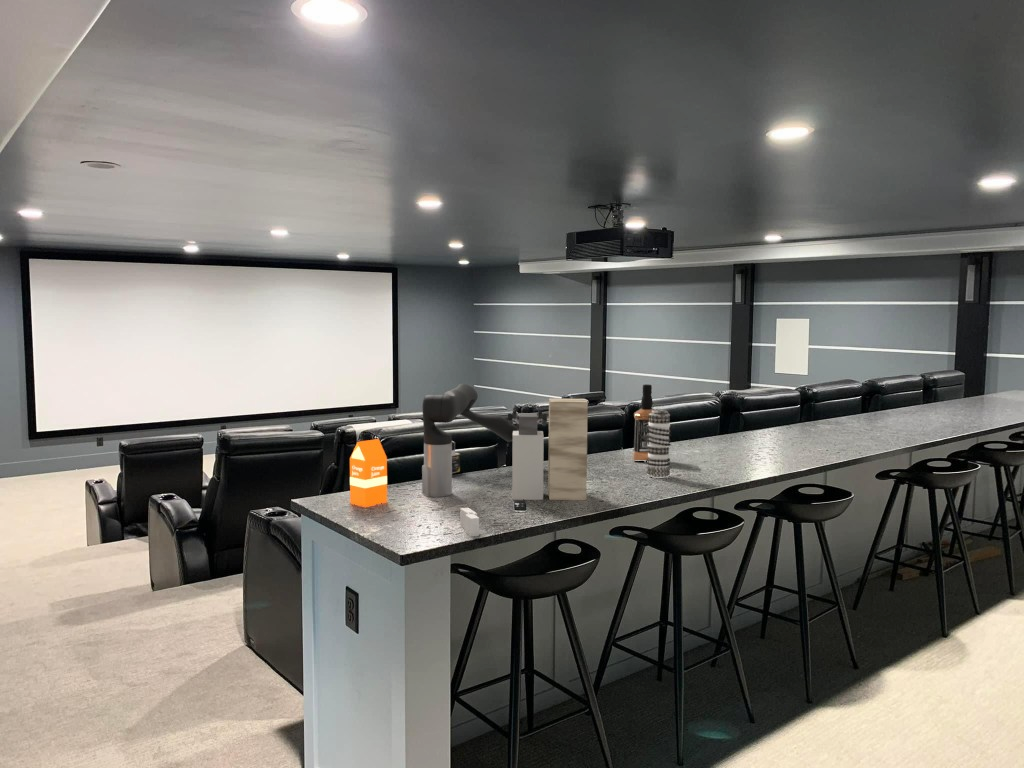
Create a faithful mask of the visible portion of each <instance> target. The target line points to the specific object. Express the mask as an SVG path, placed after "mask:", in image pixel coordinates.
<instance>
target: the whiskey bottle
mask: <svg viewBox="0 0 1024 768" xmlns="http://www.w3.org/2000/svg"><path fill="white" fill-rule="evenodd" d="M652 389H653V388H652V384H642V396H641V400H640V401H641V402H640V403H641V405H640V406H641V408H639V409H638V410H636V411H635V412H634V413H633V417H634V435H633V437H634V439H633V448H632V460H633V459H634V460H646V461H648V460H647V458H648V453H649V446H648V445H647V444H648V443H649V441H647V438H648V437H647V434H648V433H649V432H647V425H648V424H649V414H650V413H651V411H652V410H654V409H653V398H652V392H653V391H652Z"/></svg>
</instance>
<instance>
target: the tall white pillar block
mask: <svg viewBox="0 0 1024 768" xmlns="http://www.w3.org/2000/svg"><path fill="white" fill-rule="evenodd" d="M544 438H545V437H544V431H543V430H537V435H519V431H513V440H512V445H511V446H512V462H511V463H512V465H511V466H512V468H511V469H512V471H511V472H512V474H511V475H512V478H511V479H512V480H511V481H512V484H511V486H512V487H511V488H512V489H511V491H512V492H511V493H512V494H511V496H512V497H511V498H512V500H515V501H516V500H518V501H522V500H523V499H524V500H526V501H527V500H531V501H536V500H537V501H543V500H544V449H545V448H544V444H545V442H544V441H545V439H544Z"/></svg>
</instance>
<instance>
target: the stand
mask: <svg viewBox="0 0 1024 768" xmlns="http://www.w3.org/2000/svg"><path fill="white" fill-rule="evenodd" d="M588 404H589V403H588V401H587V399H586V398H548V463H547V465H548V466H547V467H548V471H547V473H548V474H547V476H548V478H547V480H548V481H547V484H548V485H547V489H548V490H547V492H548V493H547V494H548V500H550V501H587V484H588V483H587V482H588V481H587V477H588V476H587V475H588V471H587V470H588V468H587V467H588V407H589V405H588Z"/></svg>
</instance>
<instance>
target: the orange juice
mask: <svg viewBox="0 0 1024 768" xmlns="http://www.w3.org/2000/svg"><path fill="white" fill-rule="evenodd" d="M385 452H386V451H385V450H384V448H383V445H382V443H381V441H380V439H379V438H377V439H376V438H375V439H370V440H369V439H368V440H361V441H357V442H356V445H355V447H354V448H353V451H352V453H351V455H350V457H349V489H350V490H349V493H350V494H349V496H350V499H349V501H350V503H351V505H354V504H355V505H356V506H358V507H363V508H369V507H373V506H376V504H378V505H382V504H386V503H388V463H387V461H388V456H387V455H386V453H385ZM381 503H382V504H381Z"/></svg>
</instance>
